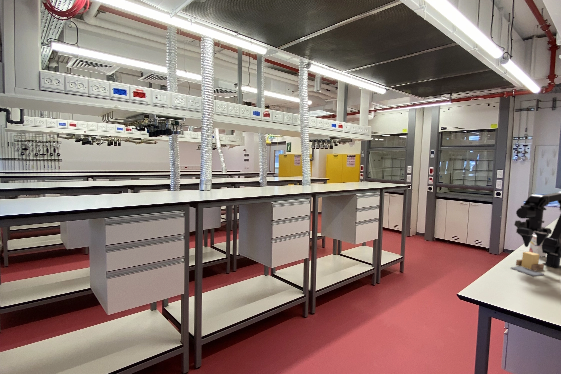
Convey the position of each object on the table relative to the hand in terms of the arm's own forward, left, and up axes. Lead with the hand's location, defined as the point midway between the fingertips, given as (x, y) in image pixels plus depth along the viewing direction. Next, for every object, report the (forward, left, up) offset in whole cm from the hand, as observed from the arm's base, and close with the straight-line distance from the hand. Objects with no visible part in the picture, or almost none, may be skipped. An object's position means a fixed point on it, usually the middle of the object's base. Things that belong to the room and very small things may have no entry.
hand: (532, 246), depth 162 cm
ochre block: (0, 0, -12) cm, 12 cm away
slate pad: (+9, +4, -12) cm, 16 cm away
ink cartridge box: (-32, -16, -12) cm, 38 cm away
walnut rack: (0, 0, -12) cm, 12 cm away
